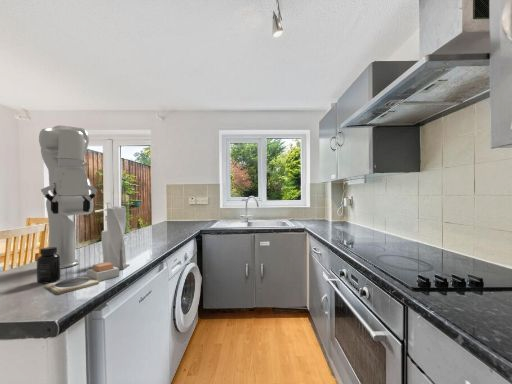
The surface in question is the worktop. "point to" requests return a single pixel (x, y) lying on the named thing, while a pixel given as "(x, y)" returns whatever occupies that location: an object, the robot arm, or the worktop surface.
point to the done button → (102, 266)
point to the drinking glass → (105, 245)
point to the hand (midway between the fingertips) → (71, 212)
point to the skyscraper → (116, 236)
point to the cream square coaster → (71, 284)
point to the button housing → (103, 274)
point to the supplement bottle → (48, 265)
